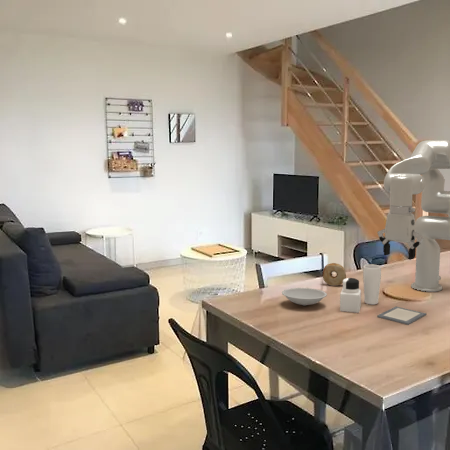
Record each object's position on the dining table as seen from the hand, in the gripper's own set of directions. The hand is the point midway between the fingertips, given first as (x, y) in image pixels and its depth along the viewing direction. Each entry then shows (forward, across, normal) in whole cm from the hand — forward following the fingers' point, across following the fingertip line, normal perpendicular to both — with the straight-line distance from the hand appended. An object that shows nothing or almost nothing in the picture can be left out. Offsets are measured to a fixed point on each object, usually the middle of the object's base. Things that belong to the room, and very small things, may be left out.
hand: (398, 256), depth 187 cm
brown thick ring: (+22, +40, -17) cm, 49 cm away
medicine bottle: (+22, +16, +6) cm, 28 cm away
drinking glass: (+22, +14, -6) cm, 27 cm away
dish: (+22, +32, +14) cm, 42 cm away
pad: (+22, -2, 0) cm, 22 cm away
